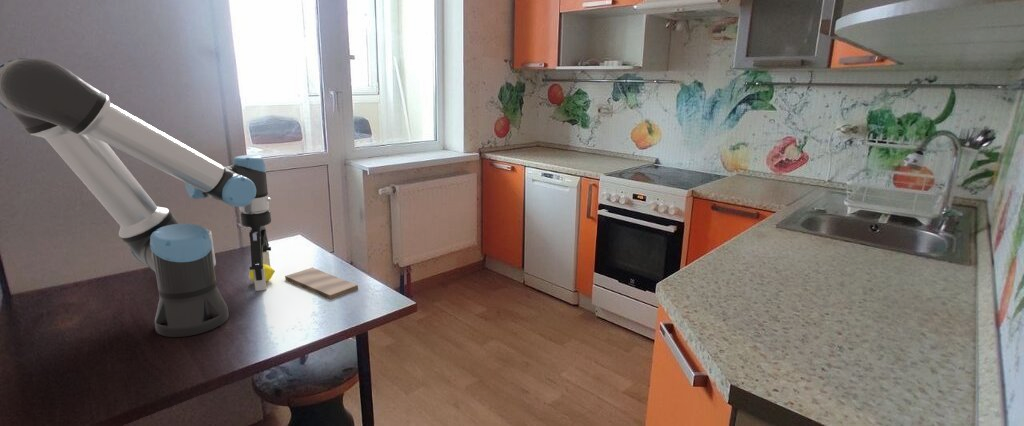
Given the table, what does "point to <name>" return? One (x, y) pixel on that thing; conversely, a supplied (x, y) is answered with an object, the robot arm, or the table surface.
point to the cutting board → (321, 283)
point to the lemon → (268, 272)
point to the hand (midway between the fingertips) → (263, 281)
